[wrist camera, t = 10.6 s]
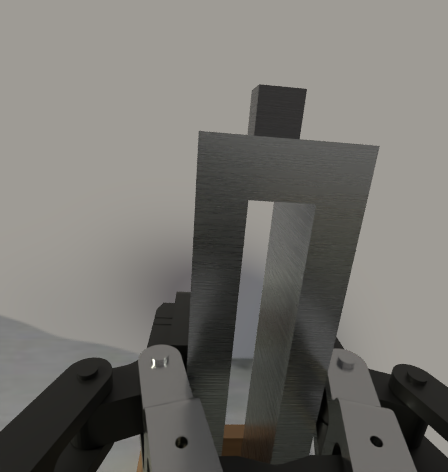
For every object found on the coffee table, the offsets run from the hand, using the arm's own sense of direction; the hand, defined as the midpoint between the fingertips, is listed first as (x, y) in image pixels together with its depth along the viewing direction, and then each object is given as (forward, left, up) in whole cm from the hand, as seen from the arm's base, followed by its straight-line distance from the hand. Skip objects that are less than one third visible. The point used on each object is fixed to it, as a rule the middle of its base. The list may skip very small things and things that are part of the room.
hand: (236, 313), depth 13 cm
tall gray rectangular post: (-2, -2, -8) cm, 8 cm away
